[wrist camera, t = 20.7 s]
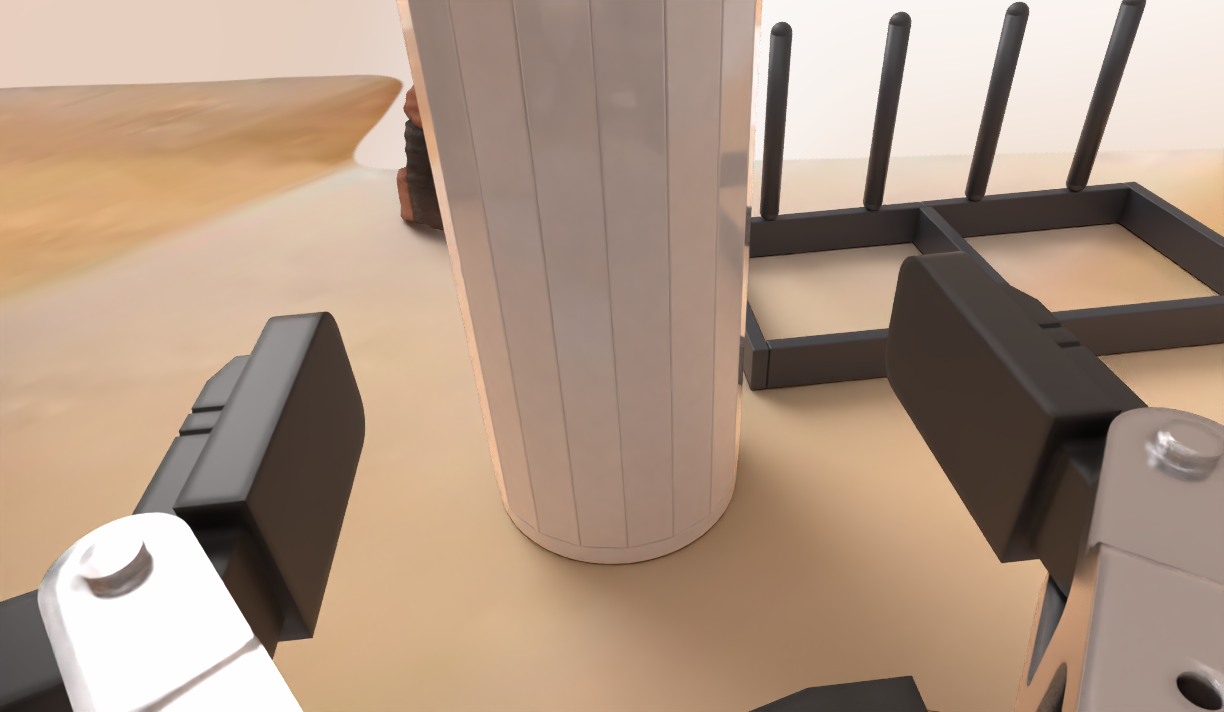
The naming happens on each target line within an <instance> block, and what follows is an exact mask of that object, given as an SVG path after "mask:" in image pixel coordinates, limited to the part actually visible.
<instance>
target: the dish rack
mask: <svg viewBox="0 0 1224 712" xmlns="http://www.w3.org/2000/svg"><path fill="white" fill-rule="evenodd" d="M1145 4H1146V0H1123V1H1122V3H1121V6H1120V9H1119V13H1118V16H1117V19H1116V23H1115V26H1114V29H1113V32H1112V35H1111V39H1110V42H1109V45H1108V49H1107V52H1106V55H1105V58H1104V61H1103V65H1102V68H1101V71H1100V74H1099V78H1098V81H1097V84H1096V87H1095V90H1094V94H1093V97H1092V100H1091V103H1090V107H1089V110H1088V113H1087V116H1086V120H1085V123H1084V126H1083V130H1082V133H1081V136H1080V139H1079V142H1078V145H1077V149H1076V152H1075V155H1074V158H1073V162H1072V165H1071V168H1070V171H1069V175H1068V178H1067V181H1066V186H1067V188H1062V189H1052V190H1041V191H1030V192H1019V193H1009V194H998V195H987V196H984V195H985V192H986V187H987V183H988V179H989V175H990V171H991V167H992V163H993V159H994V155H995V150H996V147H997V143H998V138H999V134H1000V130H1001V126H1002V122H1003V117H1004V114H1005V110H1006V106H1007V101H1008V98H1009V93H1010V89H1011V85H1012V81H1013V77H1014V73H1015V69H1016V65H1017V60H1018V57H1019V53H1020V48H1021V44H1022V40H1023V36H1024V32H1025V28H1026V24H1027V20H1028V16H1029V7H1028V6H1027V5H1026V4H1025V3H1023V2H1016V3H1013V4H1012V5H1011V6H1010V7H1009V8H1008V10H1007V12H1006V15H1005V19H1004V24H1003V28H1002V32H1001V37H1000V42H999V46H998V50H997V54H996V59H995V64H994V68H993V72H992V76H991V81H990V85H989V89H988V94H987V99H986V103H985V107H984V111H983V116H982V121H981V125H980V129H979V133H978V138H977V142H976V146H975V151H974V155H973V160H972V164H971V168H970V173H969V177H968V182H967V186H966V190H965V195H966V198H955V199H944V200H933V201H923V202H913V203H902V204H891V205H882V202H883V195H884V189H885V183H886V177H887V171H888V164H889V158H890V152H891V146H892V139H893V133H894V127H895V121H896V114H897V108H898V102H899V95H900V89H901V84H902V77H903V71H904V65H905V59H906V52H907V46H908V40H909V33H910V28H911V18H910V16H909V15H908V14H907V13H905V12H898V13H896V14H894V15H893V16H892V17H891V19H890V21H889V26H888V33H887V40H886V47H885V54H884V62H883V68H882V75H881V82H880V89H879V96H878V102H877V110H876V116H875V123H874V130H873V137H872V144H871V151H870V158H869V164H868V171H867V178H866V185H865V192H864V199H863V204H864V207H859V208H848V209H838V210H827V211H816V212H805V213H795V214H784V215H778V213H779V202H780V189H781V175H782V162H783V149H784V136H785V135H784V134H785V122H786V109H787V96H788V82H789V69H790V56H791V42H792V28H791V26H790V25H789V24H788V23H786V22H779V23H777V24H775V25H774V26H773V28H772V30H771V36H770V52H769V69H768V86H767V103H766V120H765V136H764V153H763V170H762V186H761V203H760V214H761V216H762V217H752V218H751V228H750V247H749V257H756V256H767V255H777V254H788V253H798V252H809V251H819V250H830V249H840V248H851V247H862V246H872V245H883V244H893V243H904V242H913V243H914V244H915V245H916V246H917V247H918V249H919V250H920V251H921V252H922V253H923V254H924V255H928V254H938V253H948V252H959V251H962V252H965V253H967V254H969V255H970V256H971V257H972V258H973V259H974V260H975V261H976V262H977V263H978V264H979V265H980V266H981V267H982V268H983V269H984V270H985V271H986V272H987V273H988V274H989V275H990V277H991V278H992V279H993V280H994V281H995V282H996V283H999V282H1004V283H1006V284H1008V283H1007V282H1006V281H1005V280H1004V279H1003V278H1002V277H1001V276H1000V275H999V274H998V273H997V272H996V271H995V270H994V269H993V268H992V267H991V266H990V265H989V264H988V263H987V262H986V261H985V260H984V259H983V258H982V257H981V256H980V255H979V254H978V253H977V252H976V251H975V250H974V249H973V248H972V247H971V246H970V245H969V244H968V243H967V242H966V241H965V240H964V239H963V238H962V237H968V236H978V235H989V234H999V233H1010V232H1020V231H1031V230H1041V229H1052V228H1063V227H1073V226H1084V225H1094V224H1105V223H1115V222H1119V223H1120V224H1122V225H1123V226H1125V227H1126V228H1128V229H1129V230H1130V231H1132V232H1133V233H1135V234H1136V235H1137V236H1139V237H1140V238H1142V239H1143V240H1144V241H1146V242H1147V243H1149V244H1150V245H1151V246H1153V247H1154V248H1156V249H1157V250H1159V251H1160V252H1161V253H1163V254H1164V255H1166V256H1167V257H1168V258H1170V259H1171V260H1173V261H1174V262H1175V263H1177V264H1178V265H1180V266H1181V267H1182V268H1184V269H1185V270H1187V271H1188V272H1190V273H1191V274H1192V275H1194V276H1195V277H1197V278H1198V279H1199V280H1201V281H1202V282H1204V283H1205V284H1206V285H1208V286H1209V287H1211V288H1212V289H1213V290H1215V291H1216V292H1218V293H1219V294H1221V296H1211V297H1201V298H1191V299H1180V300H1170V301H1160V302H1150V303H1140V304H1130V305H1120V306H1110V307H1100V308H1089V309H1079V310H1069V311H1059V312H1051V313H1052V314H1053V315H1054V316H1055V317H1056V318H1057V319H1058V320H1059V321H1060V322H1061V327H1067V328H1068V329H1069V330H1070V331H1071V332H1072V333H1073V334H1074V335H1075V336H1076V337H1077V338H1078V339H1079V340H1080V345H1081V346H1086V347H1087V348H1088V349H1089V350H1090V351H1091V352H1092V353H1093V354H1094V355H1102V354H1112V353H1122V352H1132V351H1142V350H1152V349H1162V348H1172V347H1181V346H1191V345H1201V344H1211V343H1221V342H1224V237H1223V236H1221V235H1220V234H1218V233H1216V232H1215V231H1213V230H1211V229H1210V228H1208V227H1207V226H1205V225H1203V224H1202V223H1200V222H1199V221H1197V220H1195V219H1194V218H1192V217H1191V216H1189V215H1187V214H1186V213H1184V212H1183V211H1181V210H1179V209H1178V208H1176V207H1175V206H1173V205H1171V204H1170V203H1168V202H1167V201H1165V200H1163V199H1162V198H1160V197H1159V196H1157V195H1155V194H1154V193H1152V192H1151V191H1149V190H1147V189H1146V188H1144V187H1143V186H1141V185H1139V184H1138V183H1136V182H1128V183H1116V184H1105V185H1095V186H1086V185H1087V182H1088V179H1089V176H1090V173H1091V170H1092V167H1093V164H1094V161H1095V158H1096V155H1097V152H1098V149H1099V146H1100V142H1101V139H1102V136H1103V133H1104V130H1105V127H1106V124H1107V121H1108V118H1109V114H1110V112H1111V109H1112V106H1113V103H1114V99H1115V96H1116V93H1117V90H1118V87H1119V84H1120V81H1121V78H1122V75H1123V72H1124V69H1125V65H1126V63H1127V59H1128V56H1129V53H1130V50H1131V47H1132V44H1133V41H1134V38H1135V35H1136V32H1137V29H1138V26H1139V23H1140V20H1141V17H1142V14H1143V11H1144V8H1145ZM1008 285H1009V284H1008ZM888 331H889V328H887V329H877V330H867V331H857V332H847V333H836V334H826V335H816V336H806V337H796V338H786V339H776V340H767V341H765V339H764V337H763V334H762V332H761V330H760V327H759V325H758V323H757V321H756V318H755V316H754V314H753V311H752V309H751V307H750V305H749V302H748V300H747V304H746V323H745V343H744V362H743V370H744V373H745V375H746V378H747V381H748V383H749V386H750V388H751V390H756V389H765V388H766V386H767V388H776V387H786V386H795V385H805V384H815V383H825V382H835V381H845V380H855V379H865V378H875V377H885V376H887V371H886V364H885V348H886V342H887V336H888Z"/></svg>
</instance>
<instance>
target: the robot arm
mask: <svg viewBox="0 0 1224 712" xmlns="http://www.w3.org/2000/svg"><path fill="white" fill-rule="evenodd" d="M885 364H886V371H887V376H888V379H889V382H890V385H891V387H892V389H893V391H894V392H895V394H896V396H897V397H898V399H899V400H900V402H901V404H902V405H903V407H904V408H905V410H906V412H907V413H908V415H909V416H910V418H911V420H912V421H913V423H914V424H915V426H916V428H917V429H918V431H919V432H920V434H921V436H922V437H923V439H924V440H925V442H926V444H927V445H928V447H929V448H930V450H931V452H932V453H933V455H934V456H935V458H936V460H937V461H938V463H939V464H940V466H941V468H942V469H943V471H944V472H945V474H946V476H947V477H948V479H949V480H950V482H951V484H952V485H953V487H954V488H955V490H956V492H957V493H958V495H959V496H960V498H961V500H962V501H963V503H964V504H965V506H966V508H967V509H968V511H969V512H970V514H971V516H972V517H973V519H974V520H975V522H976V524H977V525H978V527H979V528H980V530H981V532H982V533H983V535H984V536H985V538H986V540H987V541H988V543H989V544H990V546H991V548H992V549H993V551H994V552H995V554H996V556H997V557H998V559H999V560H1000V562H1001V563H1007V562H1016V561H1025V560H1033V559H1040V560H1041V562H1042V563H1043V565H1044V566H1045V568H1046V569H1047V571H1048V573H1047V575H1046V577H1045V580H1044V582H1043V584H1042V587H1041V590H1040V594H1039V599H1038V604H1037V608H1036V613H1035V617H1034V622H1033V626H1032V631H1031V636H1030V640H1029V645H1028V649H1027V654H1026V659H1025V663H1024V668H1023V672H1022V677H1021V681H1020V686H1019V691H1018V695H1017V700H1016V704H1015V708H1014V712H1224V426H1223V425H1221V424H1219V423H1217V422H1215V421H1212V420H1210V419H1207V418H1205V417H1202V416H1199V415H1196V414H1192V413H1189V412H1185V411H1180V410H1176V409H1169V408H1158V407H1148V406H1147V405H1146V404H1145V403H1144V402H1143V401H1142V400H1141V399H1140V398H1139V397H1138V396H1137V395H1136V394H1135V393H1134V392H1133V391H1132V390H1131V389H1130V388H1129V387H1128V386H1127V385H1126V384H1124V383H1123V382H1122V381H1121V380H1120V379H1119V378H1118V377H1117V376H1116V375H1115V374H1114V373H1113V372H1112V371H1111V370H1110V369H1109V368H1108V367H1107V366H1106V365H1105V364H1104V363H1103V362H1102V361H1101V360H1100V359H1099V358H1098V357H1097V356H1095V355H1094V354H1093V353H1092V352H1091V351H1090V350H1089V349H1088V348H1087V347H1086V346H1081V345H1080V340H1079V339H1078V338H1077V337H1076V336H1075V335H1074V334H1073V333H1072V332H1071V331H1070V330H1069V329H1068V328H1067V327H1061V322H1060V321H1059V320H1058V319H1057V318H1056V317H1055V316H1054V315H1053V314H1052V313H1051V312H1050V311H1049V310H1048V309H1047V308H1046V307H1045V306H1044V305H1043V304H1042V303H1041V302H1040V301H1039V300H1037V299H1035V298H1033V297H1031V296H1029V295H1028V294H1026V293H1024V292H1022V291H1020V290H1018V289H1016V288H1014V287H1012V286H1010V285H1008V284H1006V283H1004V282H999V283H996V282H995V281H994V280H993V279H992V278H991V277H990V275H989V274H988V273H987V272H986V271H985V270H984V269H983V268H982V267H981V266H980V265H979V264H978V263H977V262H976V261H975V260H974V259H973V258H972V257H971V256H970V255H969V254H967V253H965V252H962V251H959V252H948V253H938V254H928V255H918V256H910V257H907V258H906V259H905V260H904V262H903V263H902V265H901V268H900V272H899V276H898V281H897V287H896V292H895V298H894V303H893V309H892V314H891V320H890V325H889V331H888V336H887V342H886V348H885ZM179 433H180V436H179V437H175V439H174V441H173V443H172V445H171V446H170V448H169V450H168V452H167V453H166V455H165V457H164V459H163V461H162V462H161V464H160V466H159V468H158V469H157V471H156V473H155V475H154V477H153V478H152V480H151V482H150V484H149V485H148V487H147V489H146V491H145V493H144V494H143V496H142V498H141V500H140V501H139V503H138V505H137V507H136V509H135V510H134V512H133V514H132V516H129V517H125V518H122V519H119V520H116V521H113V522H111V523H109V524H106V525H104V526H102V527H100V528H98V529H96V530H94V531H93V532H91V533H89V534H87V535H86V536H84V537H83V538H81V539H80V540H78V541H77V542H76V543H74V544H73V545H72V546H71V547H69V548H68V549H67V550H66V551H65V552H64V553H63V554H62V555H61V556H60V557H59V558H58V559H57V560H56V561H55V562H54V563H53V565H52V566H51V567H50V568H49V570H48V571H47V573H46V574H45V576H44V578H43V580H42V582H41V585H40V587H39V589H37V590H34V591H31V592H29V593H26V594H23V595H20V596H17V597H14V598H11V599H8V600H5V601H2V602H0V712H303V711H302V709H301V708H300V706H299V704H298V703H297V701H296V700H295V698H294V696H293V695H292V693H291V691H290V690H289V688H288V686H287V685H286V683H285V681H284V680H283V678H282V676H281V675H280V673H279V672H278V670H277V668H276V667H275V665H274V663H273V662H272V660H273V656H274V653H275V650H276V646H277V643H278V642H280V641H289V640H298V639H307V638H313V634H314V630H315V627H316V623H317V619H318V615H319V611H320V607H321V604H322V600H323V596H324V592H325V588H326V585H327V581H328V577H329V573H330V569H331V565H332V562H333V558H334V554H335V550H336V546H337V542H338V539H339V535H340V531H341V527H342V523H343V519H344V516H345V512H346V508H347V504H348V500H349V497H350V493H351V489H352V485H353V481H354V477H355V474H356V470H357V466H358V462H359V458H360V454H361V451H362V447H363V443H364V436H365V417H364V409H363V404H362V400H361V396H360V393H359V390H358V387H357V384H356V381H355V378H354V375H353V371H352V368H351V365H350V362H349V359H348V356H347V353H346V350H345V347H344V344H343V341H342V338H341V335H340V332H339V328H338V326H337V323H336V321H335V319H334V317H333V316H332V315H331V314H330V313H329V312H318V313H308V314H297V315H287V316H277V317H272V318H270V319H269V320H268V322H267V323H266V325H265V327H264V329H263V331H262V333H261V335H260V337H259V339H258V341H257V343H256V345H255V347H254V349H253V351H252V353H251V355H246V356H236V357H235V358H233V359H232V360H231V361H230V362H229V363H228V364H227V365H225V366H224V367H223V368H222V369H221V370H220V371H218V372H217V373H216V374H215V375H214V376H213V377H212V378H210V379H209V380H208V381H207V382H206V384H205V386H204V388H203V389H202V391H201V393H200V395H199V397H198V398H197V400H196V402H195V404H194V405H193V407H192V414H188V416H187V418H186V420H185V421H184V423H183V425H182V427H181V429H180V430H179ZM749 712H938V711H931V710H927V709H926V706H925V704H924V702H923V700H922V697H921V695H920V693H919V691H918V688H917V686H916V684H915V682H914V679H913V677H912V676H905V677H896V678H888V679H879V680H871V681H862V682H853V683H845V684H836V685H828V686H819V687H811V688H806V689H804V690H801V691H799V692H796V693H794V694H792V695H789V696H787V697H784V698H782V699H779V700H777V701H774V702H772V703H769V704H767V705H764V706H762V707H759V708H757V709H754V710H752V711H749Z"/></svg>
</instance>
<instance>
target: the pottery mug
mask: <svg viewBox="0 0 1224 712" xmlns="http://www.w3.org/2000/svg"><path fill="white" fill-rule="evenodd" d="M404 112H405V114H406V115H407V117H408V118H409V120H408V121H407V122H406V123H405V126H406V129H405V134H404V137H405V140H406V147H405V152H406V155H407V165H406V167H404V168H401V169H399V171H398V174H397V186H398V193H399V199H400V203H401V217H402V218H403V219H406V220H408V221H415V222H417V223H422V224H426V225H428V226H430V227H431V228H434V229H440V230H444V227H443V222H442V217H441V212H440V208H439V203H438V198H437V193H436V188H435V184H434V179H433V174H432V169H431V164H430V160H429V155H428V150H427V145H426V140H425V136H424V131H423V126H422V121H421V116H420V112H419V107H418V102H417V97H416V92H415V88H414V85H413V87H412V88H411V89H410V90H409V91H408V92H407V94H406V103H405V105H404Z"/></svg>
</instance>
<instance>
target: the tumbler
mask: <svg viewBox="0 0 1224 712" xmlns="http://www.w3.org/2000/svg"><path fill="white" fill-rule="evenodd" d="M396 1H397V6H398V10H399V16H400V20H401V25H402V30H403V34H404V39H405V44H406V49H407V54H408V59H409V64H410V68H411V73H412V78H413V83H414V88H415V92H416V97H417V102H418V107H419V112H420V116H421V121H422V126H423V131H424V136H425V140H426V145H427V150H428V155H429V160H430V164H431V169H432V174H433V179H434V184H435V188H436V193H437V198H438V203H439V208H440V212H441V217H442V222H443V227H444V232H445V236H446V241H447V246H448V251H449V256H450V260H451V265H452V270H453V275H454V280H455V284H456V289H457V294H458V299H459V304H460V308H461V313H462V318H463V323H464V328H465V332H466V337H467V342H468V347H469V352H470V356H471V361H472V366H473V371H474V376H475V380H476V385H477V390H478V395H479V400H480V404H481V409H482V414H483V419H484V424H485V428H486V433H487V438H488V443H489V448H490V452H491V457H492V462H493V467H494V472H495V476H496V481H497V483H498V485H499V487H500V492H501V496H502V501H503V504H504V506H505V508H506V511H507V513H508V515H509V516H510V518H511V519H512V521H513V522H514V524H515V525H516V526H517V527H518V528H519V529H520V530H521V531H522V532H523V533H524V534H525V535H526V536H527V537H529V538H530V539H531V540H532V541H534V542H535V543H537V544H538V545H540V546H542V547H544V548H545V549H547V550H549V551H551V552H554V553H556V554H559V555H561V556H564V557H567V558H571V559H574V560H578V561H584V562H590V563H600V564H624V563H634V562H640V561H646V560H650V559H654V558H657V557H661V556H664V555H667V554H669V553H672V552H674V551H677V550H679V549H681V548H683V547H684V546H686V545H688V544H690V543H692V542H693V541H695V540H696V539H698V538H699V537H700V536H702V535H703V534H705V533H706V532H707V531H708V530H709V529H710V528H711V527H712V526H713V525H714V524H715V523H716V522H717V521H718V519H719V518H720V517H721V516H722V514H723V513H724V511H725V510H726V508H727V506H728V504H729V503H730V500H731V498H732V495H733V492H734V488H735V482H736V469H737V462H738V457H739V438H740V419H741V400H742V381H743V362H744V343H745V323H746V304H747V285H748V266H749V247H750V228H751V209H752V190H753V171H754V152H755V133H756V113H757V95H758V75H759V56H760V37H761V18H762V0H396Z"/></svg>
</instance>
